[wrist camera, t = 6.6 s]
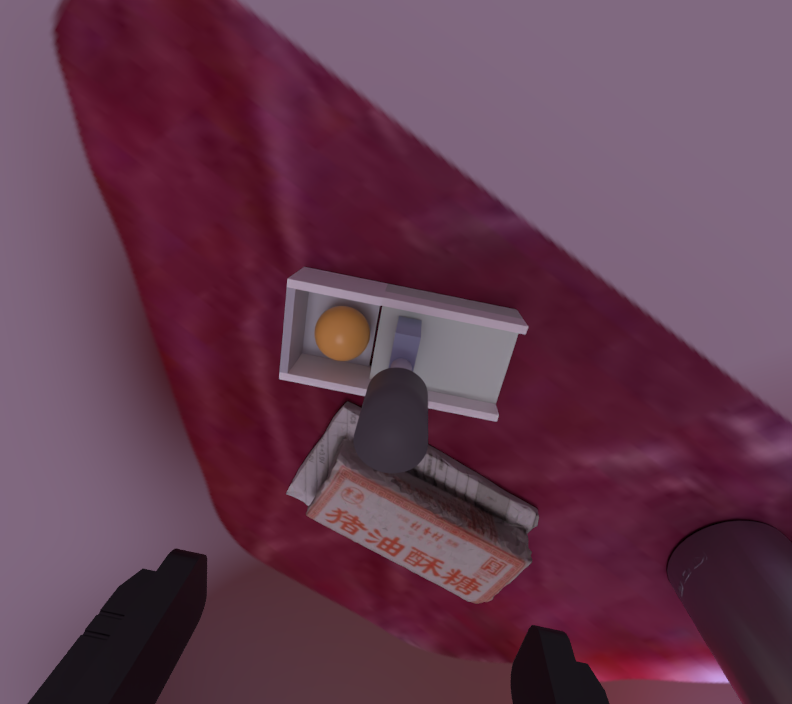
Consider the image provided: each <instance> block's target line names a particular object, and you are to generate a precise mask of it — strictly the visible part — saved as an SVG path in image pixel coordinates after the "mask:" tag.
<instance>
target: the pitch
mask: <svg viewBox="0 0 792 704" xmlns="http://www.w3.org/2000/svg"><path fill="white" fill-rule="evenodd" d="M381 306H382V311H381V316H380V322H379V327H378V333H377V338H376V344H375V349H374V355H373V361H372V366H371V372H370V377H369V381H368V385H369V383H370V381H371V379H372V378H373V377H374V376H375V375H376V374H377V373H379V372H380V371H382V370H385V369H388V368H389V363H390V358H391V352H392V347H393V342H394V337H395V332H396V328H397V323H398V318H399V316H402V317H407V318H412V319H417V320H422V323H421V339H420V344H419V348H418V352H417V357H416V361H415V366H414V370H413V372H414V373H416V374H417V375H418V376H419V377H421V379H422V380H423V381H424V383H425V385H426V387H427V391H428V408H430V409H435V410H440V411H445V412H450V413H455V414H460V415H465V416H470V417H475V418H480V419H485V420H490V421H495V422H497V420H498V417H499V414H498V410H497V407H496V402H497V398H498V395H499V392H500V389H501V386H502V383H503V380H504V377H505V374H506V371H507V368H508V364H509V361H510V358H511V355H512V352H513V349H514V346H515V343H516V340H517V337H518V334H519V333H520V334H525V335H526V332H527V329H528V326H527V324H526V323H525V321H524V320H523V318H522V317H521V315H520V314H519V312H518V311H517V310H516V309H511V308H506V307H502V306H497V305H492V304H487V303H482V302H477V301H472V300H467V299H462V298H457V297H452V296H447V295H442V294H437V293H432V292H427V291H422V290H417V289H412V288H407V287H402V286H397V285H393V284H388V285H387V287H386V290H385V293H384V295H383V299H382V304H381ZM368 385H367V388H368ZM367 388H366V391H367ZM365 395H366V393H365Z"/></svg>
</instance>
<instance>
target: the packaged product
mask: <svg viewBox="0 0 792 704" xmlns="http://www.w3.org/2000/svg"><path fill="white" fill-rule="evenodd" d="M361 409H362V408H361V407H359V406H357V405H355V404H353V403H350V402H348V401H347V402H346V403H345V404H344V405H343V406H342V408H341V409H340V410H339V411H338V412H337V413H336V415H335V416H334V417H333V419H332V421H331V423H330V424H329V426H328V428H327V430H326V432H325V433H324V435H323V436H322V437H321V439H320V440H319V441H318V443H317V444H316V445H315V447H314V448H313V449H312V451H311V452H310V454H309V455H308V456H307V458H306V459H305V461H304V462H303V464H302V465H301V467H300V468H299V470H298V472H297V474H296V475H295V477H294V479H293V481H292V483H291V485H290V487H289V489H288V491H287V493H286V494H287V495H290V496H293V497H295V498H297V499H299V500H301V501H303V502H304V503H305V504H306V505H308V510H307V512H306V515H307V516H308V517H310V518H312V519H314V520H315V521H317V522H319V523H321V524H323V525H324V526H326V527H328V528H330V529H332V530H334V531H336V532H338V533H339V534H341V535H343V536H345V537H347V538H349V539H351V540H353V541H354V542H357V543H359V544H361V545H362V546H364V547H366V548H368V549H370V550H372V551H374V552H376V553H378V554H380V555H382V556H384V557H386V558H388V559H390V560H391V561H393V562H395V563H397V564H399V565H401V566H403V567H405V568H407V569H408V570H410V571H412V572H414V573H416V574H419V575H420V576H422V577H424V578H425V579H427V580H429V581H432V582H433V583H435V584H437V585H439V586H441V587H443V588H445V589H446V590H448V591H450V592H452V593H453V594H455V595H458V596H459V597H461V598H463V599H464V600H467V601H469V602H473V603H476V604H478V603H482V602H484V601H485V602H488V601H490V600H492V599H493V597H494V595H495V594H497V593H499V591H500V590H501V589H502V588H503V587H504V586H506V585H507V584H509V583H511V582H512V580H514V579H515V578H516V577H517V576H518V575H519V574H520V573H521V572H522V571H523V570H524V569H525V568H526V567H527V566H529V565H530V564H531V563H532V558H531V553H532V552H531V551H530V550H529V548H528V536H527V533H528V532H530V531H531V530H532V529H533V528H534V527H535V526H537V525H538V519H539V514H538V510H537V508H535V507H533V506H532V505H530V504H528V503H526V502H524V501H523V500H521V499H519V498H517V497H516V496H514V495H512V494H510V493H508V492H506V491H505V490H503V489H502V488H500V487H499V486H497V485H495V484H494V483H492V482H491V481H489V480H488V479H486V478H484V477H483V476H481V475H480V474H478V473H476V472H475V471H473V470H471V469H469V468H468V467H466V466H464V465H462V464H461V463H459V462H457V461H456V460H454V459H452V458H451V457H449V456H447V455H446V454H444V453H442V452H441V451H439V450H437V449H436V448H434V447H432V446H430V445H429V444H428V448H427V452H426V455H425V457H424V458H423V460H422V461H421V462H420V463H419V464H418V465H417V466H415V467H414V468H412V469H410V470H408V471H405V472H401V473H384V472H380V471H377V470H375V469H373V468H371V467H369V466H368V465H366V464H365V463H364V462H363V461H362V460H361V459H360V458H359V456H358V455H357V453H356V450H355V448H354V441H353V439H354V433H355V429H356V426H357V422H358V419H359V416H360V412H361Z"/></svg>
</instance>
